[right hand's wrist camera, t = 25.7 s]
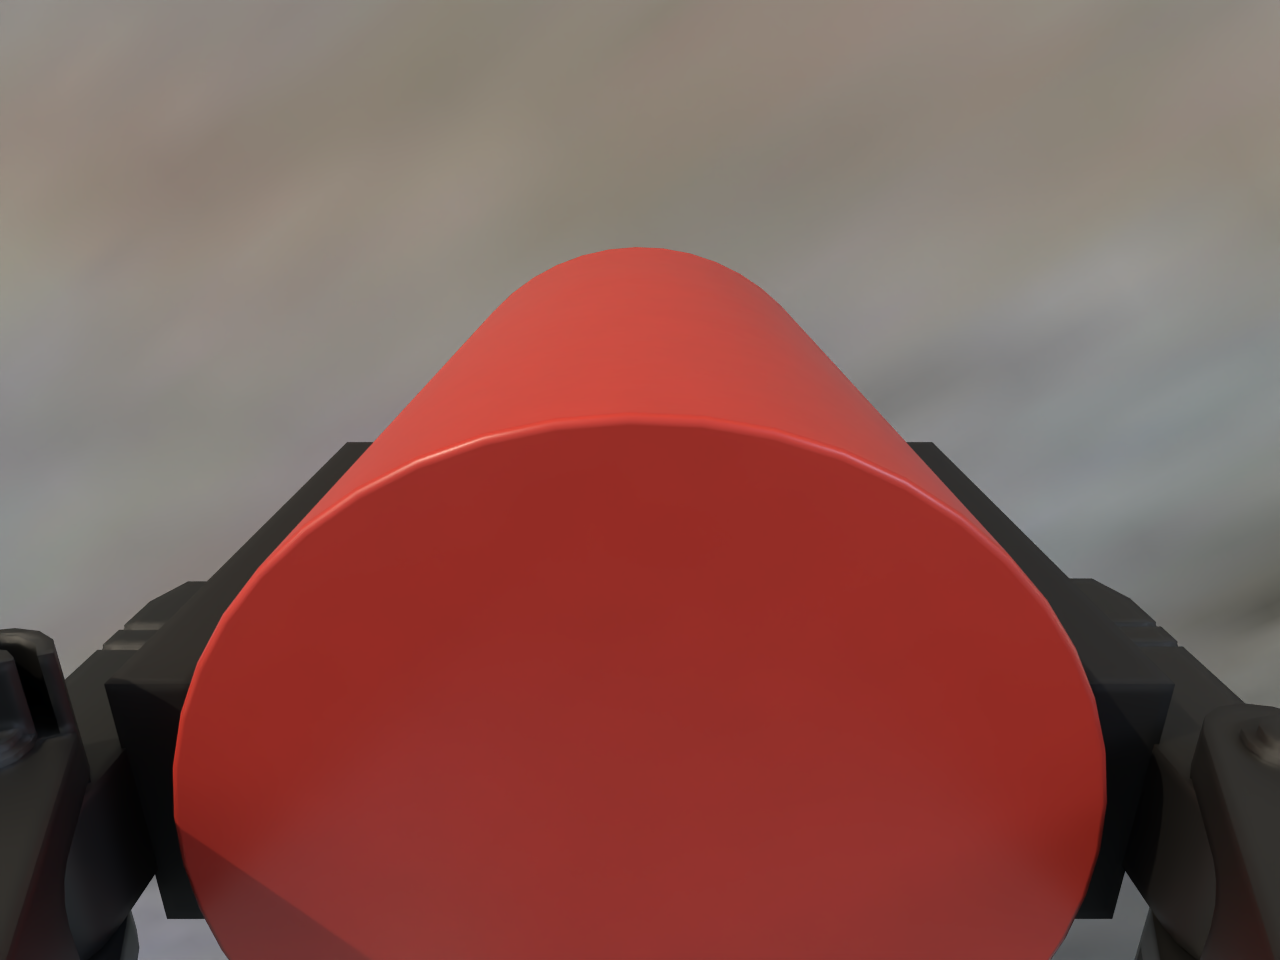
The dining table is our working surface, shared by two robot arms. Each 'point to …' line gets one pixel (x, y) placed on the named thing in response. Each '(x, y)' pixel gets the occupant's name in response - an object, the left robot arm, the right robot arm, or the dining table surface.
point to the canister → (639, 669)
